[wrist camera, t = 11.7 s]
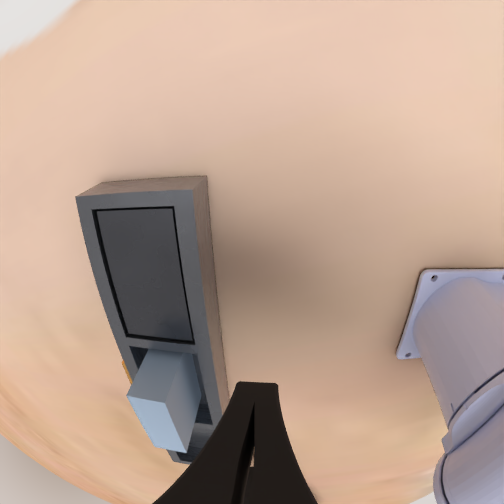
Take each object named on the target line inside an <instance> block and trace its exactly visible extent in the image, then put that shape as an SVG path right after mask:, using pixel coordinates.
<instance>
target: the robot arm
mask: <svg viewBox="0 0 504 504" xmlns="http://www.w3.org/2000/svg"><path fill="white" fill-rule="evenodd" d="M434 275H435V277H434V278H433V279H431V278H432V276H434ZM407 353H408V354H407ZM396 356H397V358H398V359H412V358H421V359H422V361H423V363H424V366H425V368H426V371H427V373H428V376H429V378H430V381H431V383H432V386H433V388H434V391H435V394H436V396H437V399H438V402H439V405H440V407H441V410H442V413H443V416H444V419H445V422H446V425H447V428H448V433H447V434H446V435H445V436H444V437H443V438H442V443H443V447H444V450H445V453H444V454H443V456H442V457H441V458H440V459H439V461H438V463H437V465H436V468H435V472H434V477H433V488H434V494H435V498H436V501H437V504H504V269H427V270H424V271H423V272H422V273H421V275H420V278H419V282H418V286H417V290H416V293H415V297H414V300H413V304H412V307H411V310H410V313H409V317H408V320H407V323H406V326H405V329H404V332H403V335H402V338H401V341H400V344H399V346H398V349H397V352H396ZM254 446H255V454H254V468H253V476H252V484H251V491H250V499H249V504H318V503H317V502H316V500H315V498H314V496H313V494H312V493H311V491H310V489H309V487H308V485H307V483H306V481H305V479H304V476H303V474H302V472H301V470H300V467H299V465H298V463H297V460H296V458H295V455H294V452H293V450H292V447H291V444H290V441H289V438H288V435H287V431H286V428H285V425H284V421H283V417H282V412H281V407H280V402H279V393H278V385H277V384H276V383H260V382H241V381H240V382H238V383H237V384H236V387H235V390H234V392H233V395H232V397H231V399H230V402H229V404H228V406H227V408H226V410H225V412H224V414H223V416H222V417H221V419H220V421H219V423H218V425H217V426H216V428H215V430H214V431H213V433H212V435H211V436H210V438H209V439H208V441H207V442H206V444H205V445H204V447H203V448H202V450H201V451H200V452H199V454H198V455H197V457H196V458H195V459H194V461H193V462H192V463H191V464H190V466H189V467H188V468H187V469H186V470H185V472H184V473H183V474H182V475H181V476H180V477H179V478H178V479H177V480H176V482H175V483H174V484H173V485H172V486H171V487H170V488H169V489H168V490H167V491H166V492H165V493H164V494H163V495H162V496H161V497H159V498H158V499H157V500H156V501H155V502H154V503H152V504H243V502H244V494H245V489H246V484H247V479H248V475H249V470H250V465H251V460H252V455H253V451H254Z"/></svg>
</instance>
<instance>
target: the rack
mask: <svg viewBox="0 0 504 504" xmlns="http://www.w3.org/2000/svg"><path fill="white" fill-rule="evenodd" d="M76 203H77V208H78V213H79V217H80V222H81V227H82V231H83V235H84V240H85V244H86V248H87V252H88V256H89V259H90V263H91V267H92V270H93V274H94V277H95V281H96V284H97V287H98V291H99V294H100V297H101V300H102V303H103V306H104V309H105V312H106V315H107V318H108V321H109V324H110V327H111V329H112V332H113V335H114V337H115V340H116V343H117V345H118V348H119V350H120V353H121V355H122V358H123V362H122V365H123V367H124V369H125V372H126V374H127V376H128V378H129V381H130V383H131V385H132V383H133V381H134V378H135V376H136V374H137V372H138V370H139V368H140V366H141V364H142V362H143V360H144V358H145V356H146V354H147V352H148V349H156V350H164V351H173V352H182V353H192V356H193V360H194V365H195V369H196V374H197V378H198V382H199V387H200V391H201V395H202V396H201V400H200V404H199V408H198V411H197V415H196V419H195V423H194V427H193V430H192V434H191V438H190V442H189V446H188V450H187V453H184V452H178V451H173V450H168V449H167V451H168V453H169V455H170V456H171V458H172V460H173V461H174V462H179V463H184V464H191V463H192V462H193V461H194V459H195V458H196V457H197V455H198V454H199V452H200V451H201V450H202V448H203V447H204V445H205V444H206V442H207V441H208V439H209V438H210V436H211V435H212V433H213V431H214V430H215V428H216V426H217V425H218V423H219V421H220V419H221V417H222V416H223V414H224V412H225V410H226V408H227V406H228V404H229V402H230V400H229V392H228V385H227V377H226V369H225V361H224V353H223V345H222V336H221V328H220V319H219V310H218V300H217V290H216V280H215V270H214V259H213V248H212V237H211V225H210V212H209V198H208V184H207V176H189V177H169V178H153V179H138V180H126V181H115V182H104V183H100V184H98V185H96V186H95V187H93V188H91V189H89V190H87V191H85V192H83V193H81V194H79V195H78V196H76Z"/></svg>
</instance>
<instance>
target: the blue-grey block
mask: <svg viewBox="0 0 504 504" xmlns="http://www.w3.org/2000/svg"><path fill="white" fill-rule="evenodd" d="M126 396H127V398H128V400H129V402H130V404H131V405H132V407H133V409H134V411H135V413H136V415H137V417H138V419H139V420H140V422H141V424H142V426H143V427H144V429H145V431H146V433H147V434H148V436H149V438H150V440H151V441H152V443H153V445H154V446H155V447H158V448H163V449H168V450H173V451H178V452H184V453H187V450H188V446H189V442H190V438H191V434H192V430H193V427H194V423H195V419H196V415H197V411H198V408H199V404H200V400H201V396H202V395H201V391H200V387H199V382H198V378H197V374H196V369H195V365H194V360H193V356H192V353H182V352H173V351H164V350H156V349H148V352H147V354H146V356H145V358H144V360H143V362H142V364H141V366H140V368H139V370H138V372H137V374H136V376H135V378H134V381H133V383H132V385H131V387H130V389H129V391H128V393H127V395H126Z"/></svg>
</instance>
